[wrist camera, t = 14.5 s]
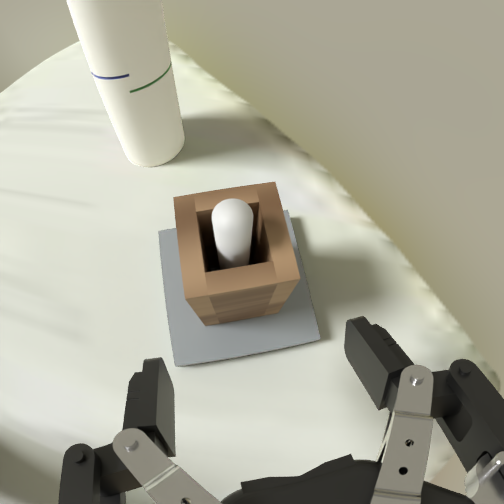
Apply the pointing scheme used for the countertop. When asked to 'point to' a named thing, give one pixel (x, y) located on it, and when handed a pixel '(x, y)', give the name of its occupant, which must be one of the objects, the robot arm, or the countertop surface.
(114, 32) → the cylindrical container
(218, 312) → the collar
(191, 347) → the post stand
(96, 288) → the countertop surface
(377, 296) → the countertop surface
